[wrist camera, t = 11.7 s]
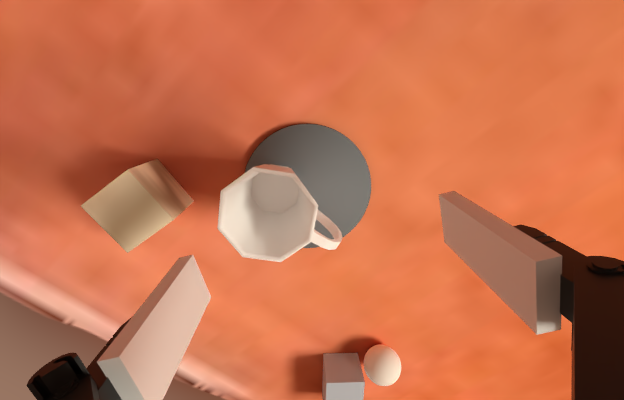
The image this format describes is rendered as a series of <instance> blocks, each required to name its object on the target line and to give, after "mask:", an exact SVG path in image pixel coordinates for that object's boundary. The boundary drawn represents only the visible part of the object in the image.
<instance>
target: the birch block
mask: <svg viewBox="0 0 624 400" xmlns="http://www.w3.org/2000/svg"><path fill="white" fill-rule="evenodd" d="M193 202H194V200H193V199H192V198H191V197H190V196H189V194H188V193H187V192H186V191H185V190H184V189H183V188H182V186H181V185H180V184H179V183H178V182H177V181H176V179H175V178H174V177H173V176H172V175H171V174H170V173H169V171H168V170H167V169H166V168H165V167H164V166H163V164H162V163H161V162H160V161H159V160H158V159H155V160H152V161H149V162H147V163H144V164H141V165H138V166H136V167H133V168H130V169H128V170H126V171H125V172H124V173H122V174H121V175H120V176H118V177H117V178H116V179H115V180H113V181H112V182H111V183H109V184H108V185H107V186H105V187H104V188H103V189H102V190H100V191H99V192H98V193H96V194H95V195H94V196H93V197H91V198H90V199H89V200H87V201H86V202H85V203H83V204H82V205H81V207H82V208H83V209H84V210H85V211H86V212H87V213H88V214H89V215H90V216H91V217H92V218H93V219H94V220H95V221H96V222H97V223H98V224H99V225H100V226H101V227H102V228H103V229H104V230H105V231H106V232H107V233H108V234H109V235H110V236H111V237H112V238H113V239H114V240H115V241H116V242H117V243H118V244H119V245H120V246H121V247H122V248H123V249H124V250H125V251H126V252H127V253H128V252H130V251H131V250H132V249H134V248H135V247H136V246H138V245H139V244H141V243H142V242H143V241H145V240H146V239H148V238H149V237H150V236H152V235H153V234H155V233H156V232H157V231H159V230H160V229H161V228H163V227H164V226H166V225H167V224H168V223H170V222H171V221H173V220H174V219H175V218H176V217H177V216H178V215H179V214H181V213H182V212H183V211H184V210H185V209H186V208H187V207H188V206H190V205H191V204H192V203H193Z"/></svg>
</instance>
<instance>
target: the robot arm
mask: <svg viewBox="0 0 624 400" xmlns="http://www.w3.org/2000/svg"><path fill="white" fill-rule="evenodd" d="M439 200H440V208H441V216H442V225H443V233H444V241H445V243H446V244H447V245H448V246H449V247H450V248H451V249H452V250H453V251H454V252H455V253H456V254H457V255H458V256H459V257H460V258H461V259H462V260H463V261H464V262H465V263H466V264H467V265H468V266H469V267H470V268H471V269H472V270H473V271H474V272H475V273H476V274H477V275H478V276H479V277H480V278H481V279H482V280H483V281H484V282H485V283H486V284H487V285H488V286H489V287H490V288H491V289H492V290H493V291H494V292H495V293H496V294H497V295H498V296H499V297H500V298H501V299H502V300H503V301H504V302H505V303H506V304H507V305H508V306H509V307H510V308H511V309H512V310H513V311H514V312H515V313H516V314H517V315H518V316H519V317H520V318H521V319H522V320H523V321H524V322H525V323H526V324H527V325H528V326H529V327H530V328H531V329H532V330H533V331H534V332H535V333H536V334H542V333H546V332H551V331H556V330H560V329H561V314H562V315H563V316H564V317H566V318H567V319H568V320H569V321H570V322H572V346H571V350H572V400H624V261H621V260H618V259H615V258H610V257H604V256H588V257H586V256H585V255H583V254H581V253H579V252H577V251H576V250H574V249H572V248H570V247H568V246H566V245H565V244H563V243H561V242H559V241H556V239H554V238H552V237H550V236H547V235H546V234H545V233H543V232H541V231H539V230H537V229H535V228H532V227H528V226H524V225H517V226H512V225H510V224H508V223H507V222H505V221H503V220H502V219H500V218H498V217H497V216H495V215H493V214H492V213H490V212H488V211H487V210H485V209H483V208H482V207H480V206H478V205H477V204H475V203H473V202H472V201H470V200H468V199H467V198H465V197H463V196H462V195H460V194H458V193H457V192H455V191H451V192H447V193H443V194H439ZM210 299H211V295H210V293H209V291H208V288H207V286H206V284H205V281H204V279H203V277H202V274H201V272H200V270H199V267H198V265H197V263H196V261H195V258H194V256H193V255H189V256H185V257H181V258H179V259H178V260H177V261H176V263H175V264H174V265H173V266H172V268H171V269H170V270H169V271H168V273H167V274H166V275H165V276H164V278H163V279H162V280H161V282H160V283H159V284H158V285H157V287H156V288H155V289H154V290H153V292H152V293H151V294H150V295H149V297H148V298H147V299H146V300H145V302H144V303H143V304H142V305H141V307H140V308H139V309H138V310H137V312H136V313H135V314H134V316H133V317H131V318H130V319H129V320H128V321H127V322H125V323H124V324H123V325H122V326H121V327H120V328H119V329H118V330H117V332H116V333H115V334H114V335H113V338H111V339H110V340H109V341H108V343H107V344H106V346H105V347H104V348H103V349H102V350H101V351H100V353H99V354H98V355H97V356H96V357H95V359H94V360H93V361H92V362H91V364H90V365H89V366H88V367H87V368H86V367H85V366H84V364H83V363H82V361H81V360H80V358H79V357H78V355H77V354H76V353H68V354H65V355H62V356H60V357H58V358H56V359H54V360H52V361H51V362H49V363H48V364H46V365H45V366H43V367H42V368H41V369H40V370H39V371H37V372H36V373H35V374H34V375H33V376H32V377H31V379H30V380H29V381H28V384H27V387H28V388H29V390H30V391H31V392H32V393H33V395H34V396H35V397H36V399H37V400H163V398H164V396H165V394H166V391H167V389H168V387H169V385H170V383H171V381H172V379H173V377H174V375H175V373H176V371H177V368H178V366H179V364H180V362H181V360H182V358H183V356H184V354H185V352H186V349H187V347H188V345H189V343H190V341H191V339H192V337H193V335H194V332H195V330H196V328H197V326H198V324H199V322H200V320H201V318H202V316H203V313H204V311H205V309H206V307H207V305H208V303H209V301H210Z"/></svg>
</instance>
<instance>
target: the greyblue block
mask: <svg viewBox="0 0 624 400" xmlns="http://www.w3.org/2000/svg"><path fill="white" fill-rule="evenodd" d="M364 385H365V381H364V377H363V373H362V369H361V364H360V360H359V356H358V353H323V384H322V397H323V400H363V396H364Z"/></svg>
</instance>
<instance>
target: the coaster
mask: <svg viewBox="0 0 624 400" xmlns="http://www.w3.org/2000/svg"><path fill="white" fill-rule="evenodd" d="M263 164H268V165H270V164H273V165H279V166H286V167H289V168H291V169H292V170H293V171H294V173H295V174H296V175H297V177H298V178H299V179H300V181H301V182H302V183H303V185H304V186H305V187H306V189H307V190H308V192H309V193H310V194H311V196H312V197H313V199H314V200H315V201H316V203H317V204H318V210H319V211H321V212H322V213H323V214H324V215H325V216H327V217H328V218H329V219H330V220H331V221H332V222H333V223H334V224H335V225H336V226H337V227H338V228H339V230H340V231H341V233H342V237H344V236H345V235H346V234H348V233H349V232H350V231H351V230H352V229H353V228H354V227H355V226H356V225H357V224H358V222H359V221H360V220H361V218H362V217H363V215H364V213H365V211H366V208H367V206H368V203H369V199H370V193H371V178H370V172H369V169H368V165H367V163H366V161H365V158H364V157H363V155H362V153H361V152H360V150H359V149H358V148H357V147H356V145H355V144H354V143H353V142H352V141H351V140H350V139H348V138H347V137H346V136H344V135H343V134H341V133H340V132H338V131H336V130H334V129H331V128H329V127H326V126H322V125H317V124H298V125H293V126H289V127H286V128H283V129H281V130H279V131H277V132H275V133H273V134H272V135H270V136H269V137H267V138H266V139H265V140H264V141H263V142H262V143H261V144H260V145H259V146H258V147H257V148H256V150H255V151H254V153H253V154H252V156H251V157H250V159H249V162H248V164H247V166H246V170H245V173H246V172H247V171H248V170H250V169H251V168H252V167H255V166H260V165H263ZM314 229H315V230H316V231H318V232H319V233H321V234H322V235H324V236H325V237H327V238H330V239H334V237H333V236H332V234H331V233H330V232H329V231H328V230H327V229H326V228H325V227H324V226H323V225H322V224H321V223H320V222H319V221H318V220H316V221H315V227H314ZM314 247H320V246H318V245H316V244H314V243H312V242H310V243H309V244H307V245H306V246H304V247H303V248H314Z"/></svg>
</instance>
